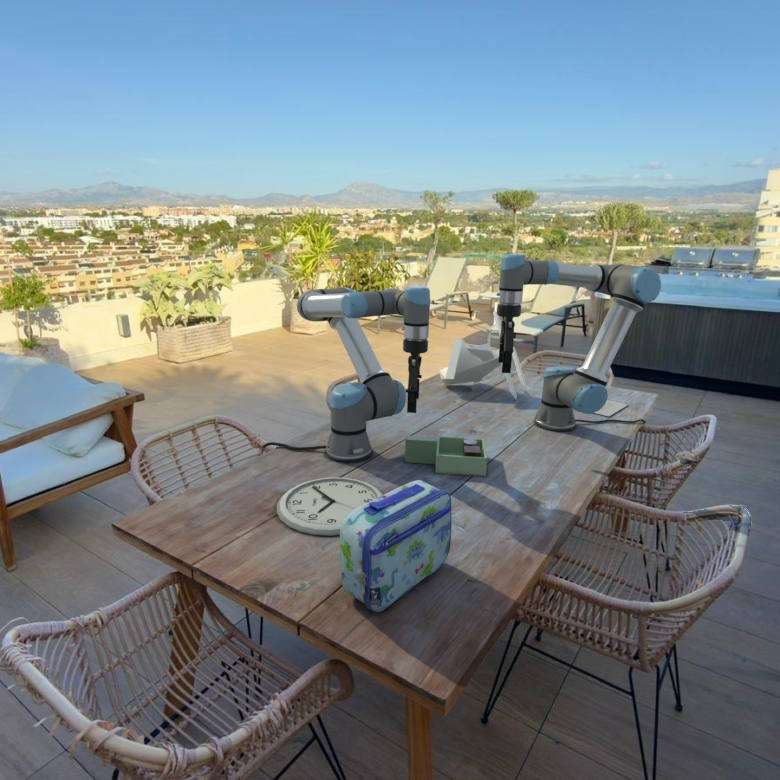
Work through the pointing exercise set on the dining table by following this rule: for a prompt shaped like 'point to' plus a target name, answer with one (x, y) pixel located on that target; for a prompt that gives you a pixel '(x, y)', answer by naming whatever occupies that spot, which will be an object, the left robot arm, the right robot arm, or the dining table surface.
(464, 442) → the grey metal peg
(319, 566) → the dining table surface
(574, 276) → the right robot arm
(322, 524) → the wall clock
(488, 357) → the white plastic object
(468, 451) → the walnut block
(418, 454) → the tray
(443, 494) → the lunch box
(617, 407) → the invitation card
